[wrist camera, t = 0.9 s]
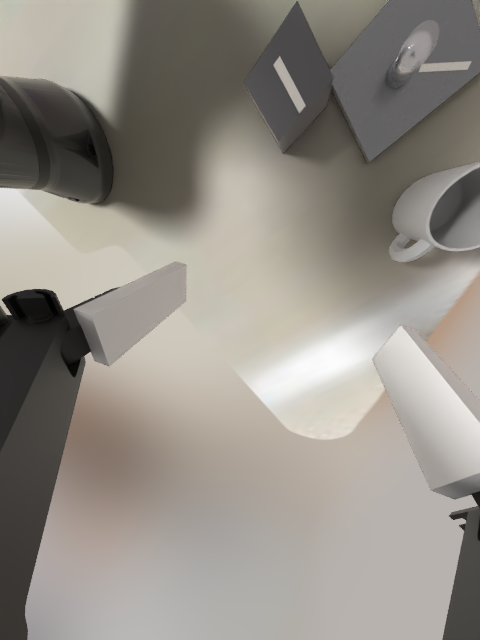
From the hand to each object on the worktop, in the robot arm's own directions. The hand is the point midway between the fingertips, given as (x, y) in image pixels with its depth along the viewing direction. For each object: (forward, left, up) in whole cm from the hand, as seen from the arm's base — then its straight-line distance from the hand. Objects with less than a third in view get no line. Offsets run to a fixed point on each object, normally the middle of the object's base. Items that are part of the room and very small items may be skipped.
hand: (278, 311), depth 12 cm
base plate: (-8, +17, -23) cm, 30 cm away
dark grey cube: (-14, +8, -23) cm, 28 cm away
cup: (+7, +14, -23) cm, 28 cm away
